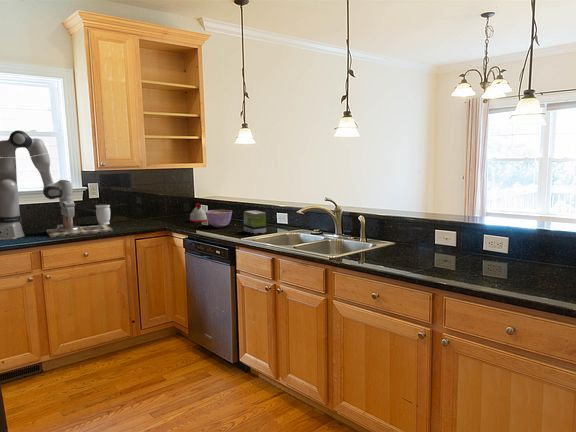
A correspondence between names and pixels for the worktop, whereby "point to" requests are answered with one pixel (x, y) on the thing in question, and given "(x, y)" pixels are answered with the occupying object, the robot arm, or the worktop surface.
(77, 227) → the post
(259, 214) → the tea box
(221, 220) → the purple rounded bowl
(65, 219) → the pinkish brown cylinder
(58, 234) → the board
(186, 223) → the worktop surface
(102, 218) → the jar
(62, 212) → the robot arm
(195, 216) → the kitchen timer
